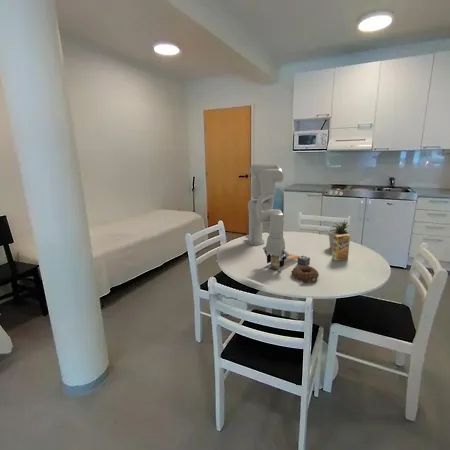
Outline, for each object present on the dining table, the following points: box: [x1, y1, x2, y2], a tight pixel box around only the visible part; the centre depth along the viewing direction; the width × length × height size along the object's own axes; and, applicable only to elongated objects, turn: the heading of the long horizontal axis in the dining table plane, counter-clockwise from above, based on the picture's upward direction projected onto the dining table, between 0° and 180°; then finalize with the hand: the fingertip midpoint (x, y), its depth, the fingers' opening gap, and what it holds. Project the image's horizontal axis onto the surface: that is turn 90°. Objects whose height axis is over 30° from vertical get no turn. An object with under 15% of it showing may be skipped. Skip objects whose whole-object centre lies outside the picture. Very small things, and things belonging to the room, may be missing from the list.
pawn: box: [270, 255, 280, 270], centre depth 165 cm, size 5×5×10 cm
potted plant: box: [327, 219, 352, 250], centre depth 195 cm, size 13×14×20 cm
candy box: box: [331, 234, 351, 261], centre depth 178 cm, size 9×4×15 cm, turn 107°
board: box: [264, 253, 300, 273], centre depth 174 cm, size 10×28×1 cm, turn 135°
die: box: [297, 255, 311, 266], centre depth 171 cm, size 5×5×5 cm
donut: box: [290, 265, 320, 283], centre depth 155 cm, size 14×14×5 cm
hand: (275, 264), depth 166 cm, fingers open, 8 cm apart
